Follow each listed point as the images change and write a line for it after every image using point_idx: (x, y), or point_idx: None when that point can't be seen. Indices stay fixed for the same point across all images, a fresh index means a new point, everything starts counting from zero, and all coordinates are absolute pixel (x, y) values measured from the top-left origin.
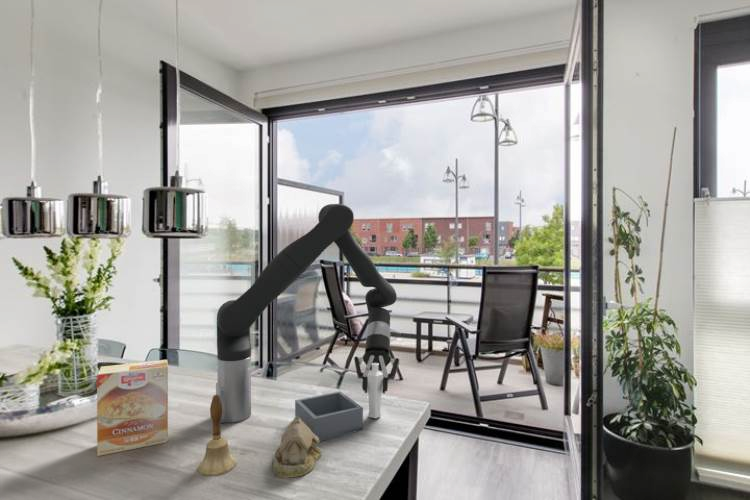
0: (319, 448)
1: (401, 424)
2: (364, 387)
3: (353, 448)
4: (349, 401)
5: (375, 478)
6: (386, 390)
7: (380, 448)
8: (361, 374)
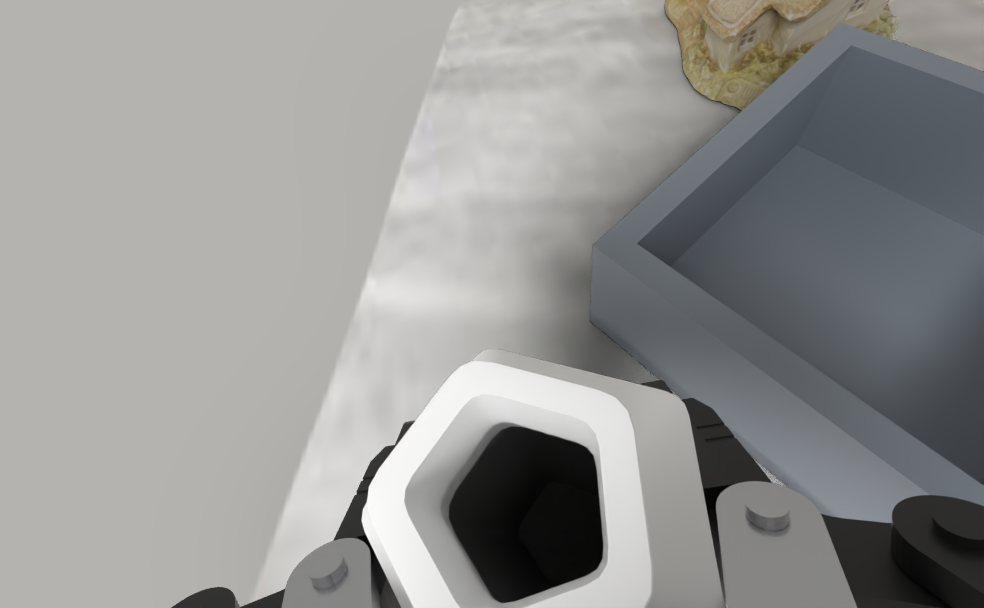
0: (713, 85)
1: (367, 453)
2: (668, 388)
3: (572, 153)
4: (775, 343)
5: (446, 44)
6: None
7: (456, 186)
8: (880, 558)
